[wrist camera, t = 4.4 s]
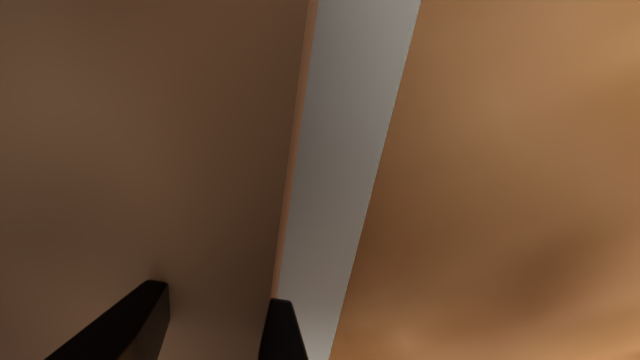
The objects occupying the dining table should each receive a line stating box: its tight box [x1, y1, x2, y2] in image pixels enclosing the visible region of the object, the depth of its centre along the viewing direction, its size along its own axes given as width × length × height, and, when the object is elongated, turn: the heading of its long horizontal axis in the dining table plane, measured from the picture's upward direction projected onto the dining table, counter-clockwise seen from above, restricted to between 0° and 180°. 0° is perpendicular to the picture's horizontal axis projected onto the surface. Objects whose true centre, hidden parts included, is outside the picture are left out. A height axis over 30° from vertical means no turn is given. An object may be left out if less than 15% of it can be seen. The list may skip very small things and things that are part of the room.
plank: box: [0, 0, 319, 360], centre depth 8 cm, size 10×11×1 cm
